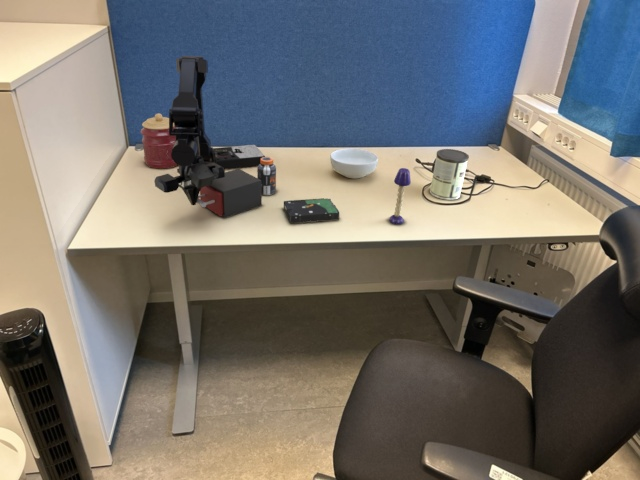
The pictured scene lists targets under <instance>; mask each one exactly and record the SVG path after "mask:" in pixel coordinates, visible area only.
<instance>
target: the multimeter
mask: <svg viewBox="0 0 640 480" xmlns="http://www.w3.org/2000/svg"><path fill="white" fill-rule="evenodd" d="M213 149H214V151H215V155H216V164H218V165H219V166H221V167H223V168H224V170H225V171H226V170H236V169H243V168H255V167H258V165H259V164H261V163H260V160H261V158H263V157H266V155H265V154H264V153H263V152H262V151H261V150H260V149H259V148H258V146H257V145H255V144H247V145H237V146H235V145H234V146H225V147H224V146H223V147H213ZM210 159H211V158H210Z"/></svg>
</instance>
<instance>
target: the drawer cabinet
mask: <svg viewBox="0 0 640 480" xmlns="http://www.w3.org/2000/svg"><path fill="white" fill-rule="evenodd" d="M210 186H211V187H213V188H215V189H216V190H218V191H220V192H221V193H222V195H223V214H224V215H222V216H221V217H222V218H224V219H226V218H229V217H233V216H235V215H238V214H241V213H244V212H247V211H250V210H253V209H255V208H259V207H262V198H263V197H262V196H263V194H262V183H261V180H260V179H258V178H257V177H256V176H254V175H253V174H250V173H249V172H246V171H244V170H243V169H241V168H235V169H231V170H229V171H225V177H223V178H219V179H214V180H213V183H212V185H210Z"/></svg>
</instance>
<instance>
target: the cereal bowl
mask: <svg viewBox="0 0 640 480" xmlns="http://www.w3.org/2000/svg"><path fill="white" fill-rule="evenodd" d="M329 157H330V158H329V159H330V165H331V167H332V169H333V170H334V172H336V173H338V174H340V175H341V176H343V177H345V178H348V179H361V178H363V177H365V176H369V175H370V174H372V173H373V172H374V171H375V170H376V169H377V167H378V162H379V157H378V155H377V154H376V153H374V152H372V151H369V150H366V149H361V148H340V149H337V150H334V151H332V152H331V153H330V156H329Z"/></svg>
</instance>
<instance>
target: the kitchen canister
mask: <svg viewBox="0 0 640 480" xmlns="http://www.w3.org/2000/svg"><path fill="white" fill-rule="evenodd" d="M141 125H142V128H141V129H140V134H141V135H142V139H141V143H142V147H143V148H142V149H143V158H144V162H145V165H146V166H148V167H149V168H154V169H171V168H175V167H177V166H179V165H178V164H176V163H175V162H174V161H173V159H172V157H171V152H172V149H173V146H174V144H175V141H176V136H169V117H167V116H163V115H162V113H155V115H154V116H153V117H149V118H147V119H146V120H145V121H143V122H142V123H141ZM174 128H179V127H175V126H174V123H173V129H174Z"/></svg>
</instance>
